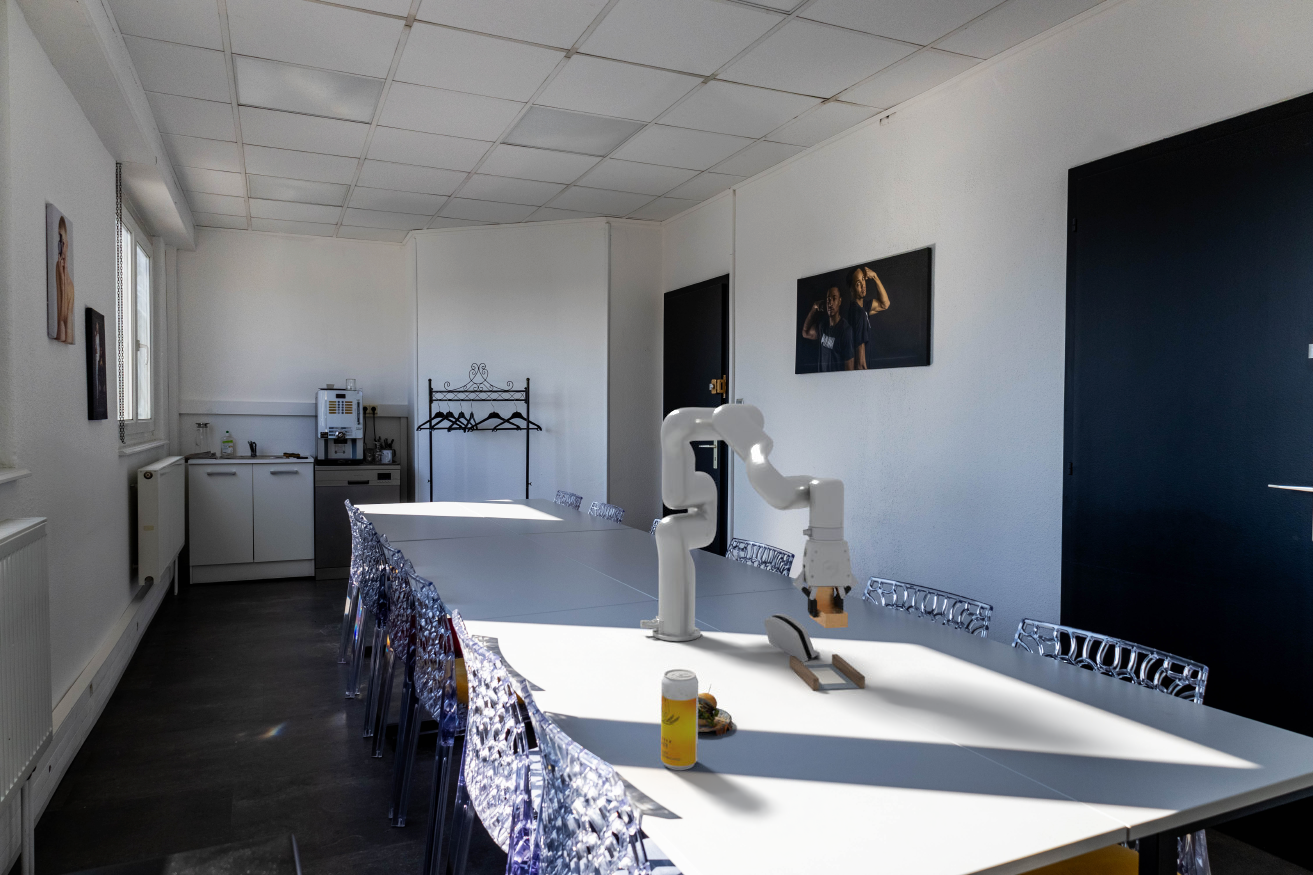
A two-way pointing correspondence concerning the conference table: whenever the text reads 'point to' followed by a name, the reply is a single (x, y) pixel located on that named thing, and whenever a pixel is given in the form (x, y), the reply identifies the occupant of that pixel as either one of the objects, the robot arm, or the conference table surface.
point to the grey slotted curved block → (790, 636)
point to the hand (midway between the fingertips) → (825, 614)
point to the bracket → (829, 610)
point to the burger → (712, 715)
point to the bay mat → (831, 677)
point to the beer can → (679, 719)
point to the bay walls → (836, 661)
